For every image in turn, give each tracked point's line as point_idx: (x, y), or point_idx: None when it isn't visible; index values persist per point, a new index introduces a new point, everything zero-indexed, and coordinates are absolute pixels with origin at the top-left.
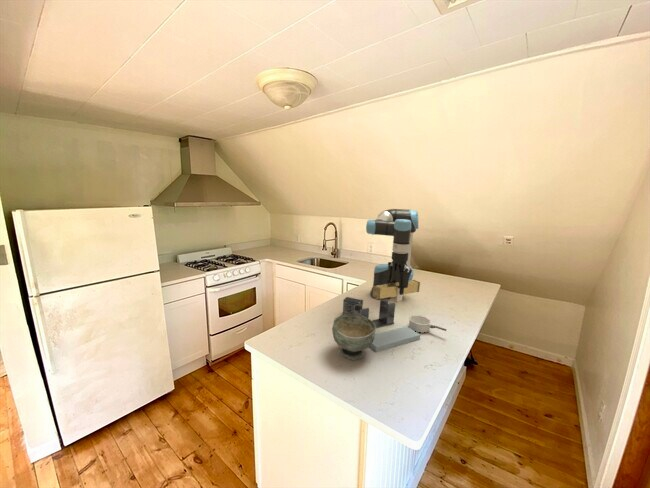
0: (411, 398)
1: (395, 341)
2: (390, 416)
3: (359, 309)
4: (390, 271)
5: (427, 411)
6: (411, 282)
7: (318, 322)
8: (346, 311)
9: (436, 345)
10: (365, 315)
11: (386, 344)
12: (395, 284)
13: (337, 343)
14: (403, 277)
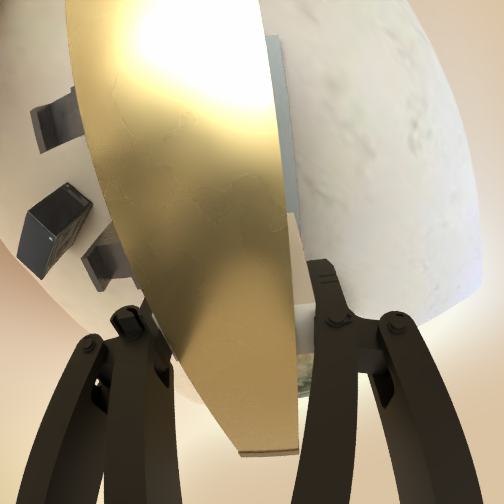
0: (451, 252)
1: (293, 167)
2: (446, 299)
3: (106, 261)
4: (93, 485)
5: (476, 246)
6: (190, 51)
7: (114, 312)
8: (66, 247)
9: (334, 14)
10: None
11: (298, 209)
12: (242, 377)
13: (298, 366)
14: (403, 485)
